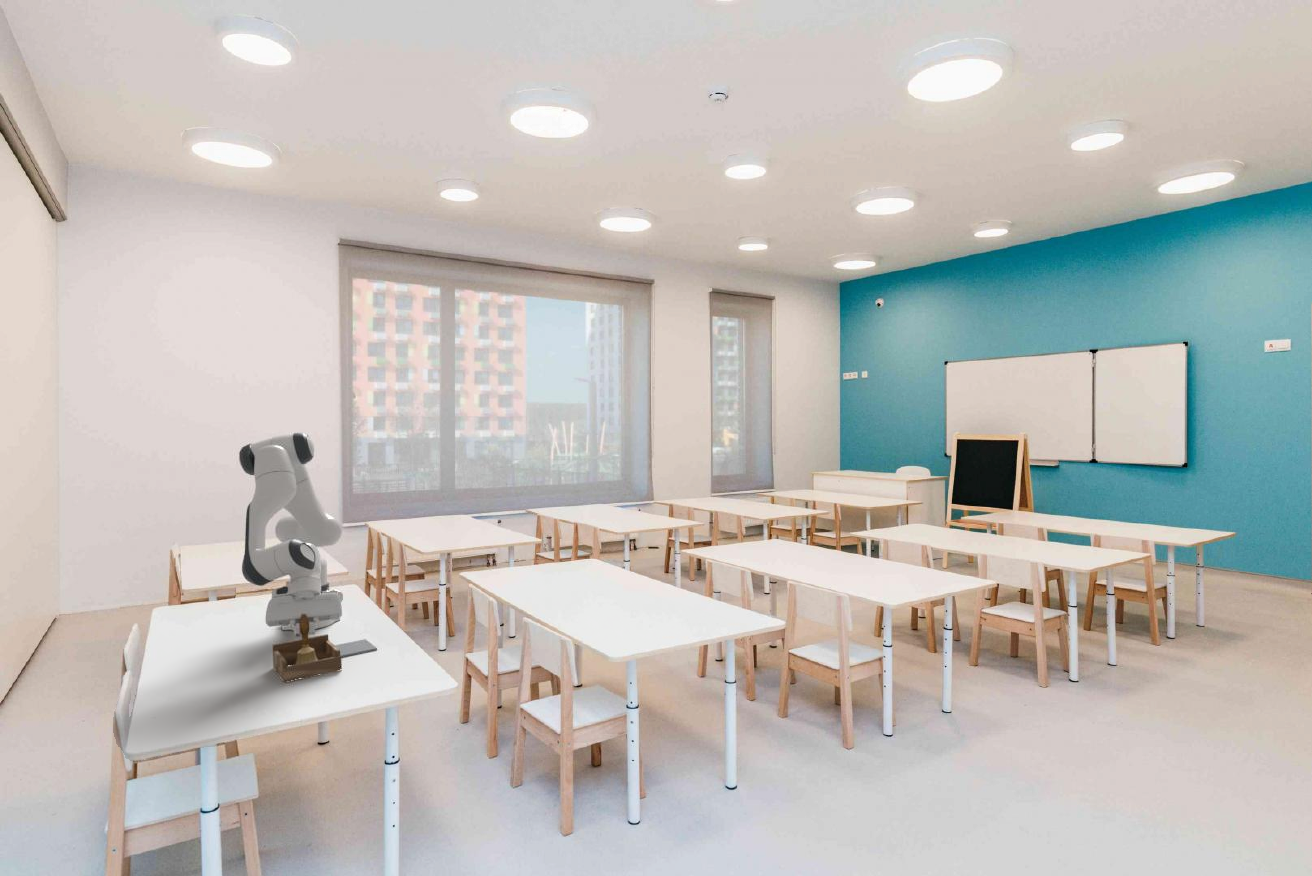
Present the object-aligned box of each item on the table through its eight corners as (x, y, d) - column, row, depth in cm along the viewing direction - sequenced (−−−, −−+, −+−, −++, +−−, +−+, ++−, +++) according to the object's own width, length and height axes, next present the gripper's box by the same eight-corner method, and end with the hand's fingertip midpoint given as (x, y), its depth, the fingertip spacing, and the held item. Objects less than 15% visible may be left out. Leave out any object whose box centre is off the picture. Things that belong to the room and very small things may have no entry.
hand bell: (311, 661, 212) (307, 609, 212) (329, 665, 208) (324, 611, 207) (285, 671, 205) (280, 617, 204) (302, 675, 201) (297, 620, 200)
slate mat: (326, 648, 225) (326, 647, 225) (365, 641, 232) (365, 639, 232) (336, 658, 215) (336, 656, 215) (377, 650, 223) (377, 648, 223)
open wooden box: (273, 668, 208) (272, 644, 208) (328, 656, 217) (327, 634, 217) (284, 682, 196) (283, 657, 196) (341, 670, 205) (340, 646, 205)
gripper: (342, 594, 221) (343, 635, 212) (267, 602, 212) (265, 644, 204) (342, 583, 216) (343, 624, 208) (266, 591, 208) (263, 633, 199)
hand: (304, 634), depth 206 cm, fingers closed on hand bell, 2 cm apart
